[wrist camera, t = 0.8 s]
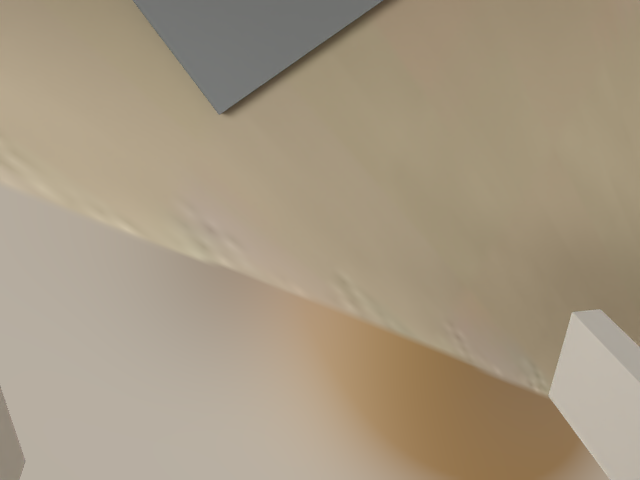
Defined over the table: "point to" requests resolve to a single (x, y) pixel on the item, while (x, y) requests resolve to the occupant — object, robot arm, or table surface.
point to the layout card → (245, 38)
